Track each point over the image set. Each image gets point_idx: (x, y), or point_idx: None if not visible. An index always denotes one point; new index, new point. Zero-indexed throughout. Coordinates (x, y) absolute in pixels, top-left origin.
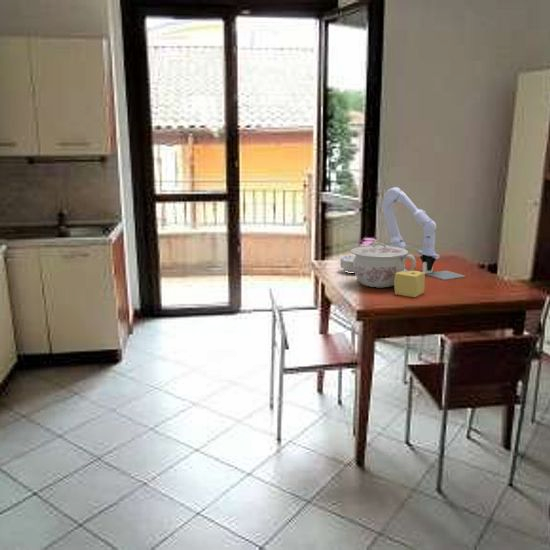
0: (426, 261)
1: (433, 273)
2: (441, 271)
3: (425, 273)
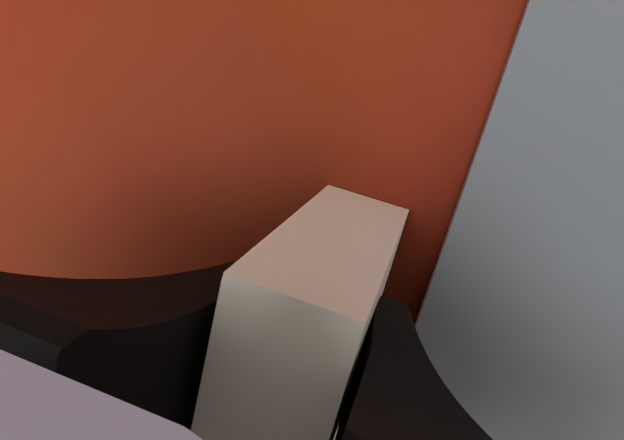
0: (177, 416)
1: (511, 342)
2: (559, 25)
3: None
